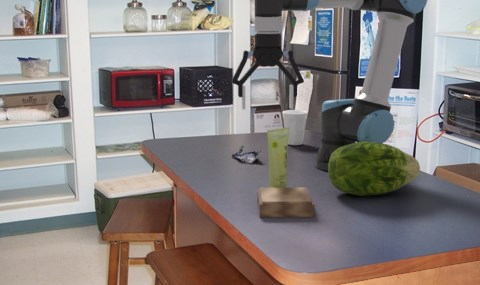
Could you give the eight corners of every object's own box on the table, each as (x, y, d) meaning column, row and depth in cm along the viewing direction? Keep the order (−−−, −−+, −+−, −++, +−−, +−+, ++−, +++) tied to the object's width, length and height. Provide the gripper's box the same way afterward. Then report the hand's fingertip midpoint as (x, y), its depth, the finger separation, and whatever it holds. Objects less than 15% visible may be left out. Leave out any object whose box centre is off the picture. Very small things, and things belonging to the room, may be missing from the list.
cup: (308, 147, 243) (309, 113, 240) (282, 147, 243) (282, 113, 241) (306, 141, 253) (306, 109, 250) (281, 141, 253) (281, 109, 250)
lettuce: (427, 200, 176) (431, 146, 173) (335, 203, 173) (337, 149, 170) (407, 185, 191) (410, 135, 187) (322, 188, 188) (323, 137, 184)
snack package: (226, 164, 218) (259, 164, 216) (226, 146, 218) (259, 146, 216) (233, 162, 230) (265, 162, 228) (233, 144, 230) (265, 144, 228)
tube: (283, 198, 178) (284, 130, 174) (266, 196, 179) (266, 129, 175) (288, 192, 183) (289, 127, 179) (271, 191, 185) (272, 126, 181)
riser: (307, 200, 176) (307, 186, 175) (313, 216, 162) (314, 202, 161) (257, 200, 175) (257, 187, 175) (259, 217, 162) (259, 202, 161)
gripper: (310, 32, 178) (308, 105, 183) (222, 32, 177) (223, 106, 181) (314, 33, 171) (313, 109, 175) (223, 33, 169) (224, 111, 174)
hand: (267, 108), depth 178 cm, fingers open, 13 cm apart
